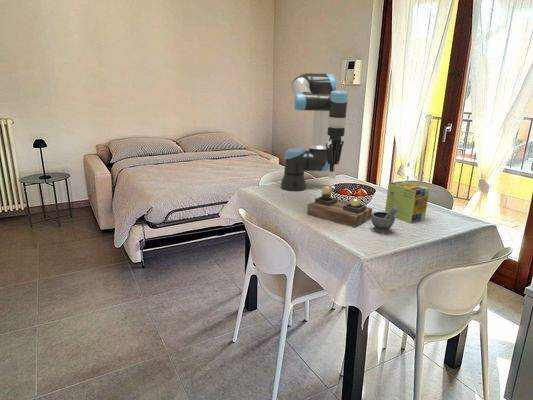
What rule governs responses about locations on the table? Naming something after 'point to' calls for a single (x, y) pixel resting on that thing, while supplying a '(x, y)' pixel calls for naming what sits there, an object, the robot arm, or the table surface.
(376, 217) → the mortar and pestle
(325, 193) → the knob
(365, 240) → the table surface
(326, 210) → the mount
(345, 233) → the table surface
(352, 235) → the table surface
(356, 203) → the knob
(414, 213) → the protein box
